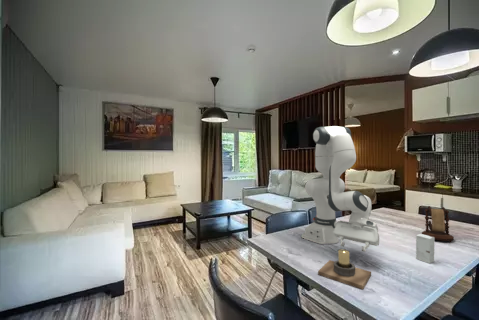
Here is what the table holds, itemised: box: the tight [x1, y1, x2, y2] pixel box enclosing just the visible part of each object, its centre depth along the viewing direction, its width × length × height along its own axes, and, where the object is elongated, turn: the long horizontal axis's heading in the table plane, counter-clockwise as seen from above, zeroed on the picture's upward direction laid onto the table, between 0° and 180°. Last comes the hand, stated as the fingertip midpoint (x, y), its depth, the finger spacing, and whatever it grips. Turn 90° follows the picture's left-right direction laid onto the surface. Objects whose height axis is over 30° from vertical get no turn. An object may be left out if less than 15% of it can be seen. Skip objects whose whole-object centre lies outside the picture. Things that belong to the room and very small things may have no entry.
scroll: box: [421, 205, 455, 243], centre depth 137 cm, size 15×15×20 cm
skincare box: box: [415, 233, 436, 264], centre depth 110 cm, size 6×4×12 cm
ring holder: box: [317, 259, 372, 290], centre depth 98 cm, size 18×14×4 cm
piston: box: [337, 248, 351, 268], centre depth 98 cm, size 4×4×9 cm
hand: (352, 248), depth 107 cm, fingers open, 8 cm apart
